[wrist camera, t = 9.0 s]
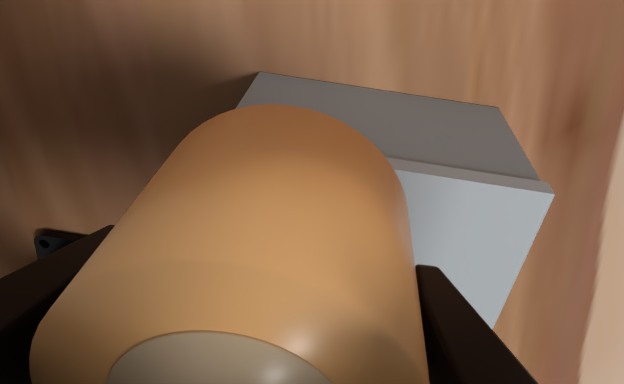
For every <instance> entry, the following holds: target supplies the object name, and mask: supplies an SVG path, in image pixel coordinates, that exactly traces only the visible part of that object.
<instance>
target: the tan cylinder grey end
mask: <svg viewBox="0 0 624 384" xmlns="http://www.w3.org/2000/svg"><path fill="white" fill-rule="evenodd" d="M29 368H30V377H31V382H32V384H430V380H429V372H428V364H427V356H426V349H425V341H424V333H423V325H422V317H421V309H420V301H419V293H418V285H417V277H416V269H415V261H414V253H413V245H412V237H411V229H410V222H409V214H408V207H407V202H406V196H405V193H404V191H403V188H402V185H401V182H400V180H399V178H398V176H397V174H396V172H395V170H394V169H393V167H392V166H391V164H390V163H389V162H388V160H387V159H386V157H385V156H384V155H383V154H382V153H381V152H380V150H379V149H378V148H377V147H376V146H375V145H374V144H373V143H372V142H371V141H369V140H368V139H367V138H366V137H364V136H363V135H362V134H361V133H359V132H358V131H357V130H355V129H353V128H352V127H350V126H349V125H347V124H345V123H344V122H342V121H340V120H337V119H335V118H333V117H331V116H329V115H326V114H324V113H320V112H317V111H314V110H311V109H307V108H302V107H296V106H291V105H277V104H265V105H252V106H247V107H242V108H237V109H233V110H230V111H228V112H225V113H222V114H219V115H217V116H215V117H213V118H211V119H209V120H207V121H206V122H204V123H202V124H201V125H199V126H198V127H197V128H195V129H194V130H193V131H191V132H190V133H189V134H188V135H187V136H186V137H185V138H184V139H183V140H182V141H181V142H180V143H179V145H178V146H177V147H176V148H175V150H174V151H173V152H172V153H171V155H170V156H169V157H168V159H167V160H166V161H165V162H164V164H163V165H162V166H161V167H160V169H159V170H158V171H157V173H156V174H155V175H154V176H153V178H152V179H151V180H150V181H149V183H148V184H147V185H146V187H145V188H144V189H143V190H142V192H141V193H140V194H139V196H138V197H137V198H136V199H135V201H134V202H133V203H132V204H131V206H130V207H129V208H128V210H127V211H126V212H125V213H124V215H123V216H122V217H121V218H120V220H119V221H118V222H117V224H116V225H115V226H114V227H113V229H112V230H111V231H110V233H109V234H108V235H107V236H106V238H105V239H104V240H103V241H102V243H101V244H100V245H99V247H98V248H97V249H96V250H95V252H94V253H93V254H92V255H91V257H90V258H89V259H88V261H87V262H86V263H85V264H84V266H83V267H82V268H81V270H80V271H79V272H78V273H77V275H76V276H75V277H74V278H73V280H72V281H71V282H70V284H69V285H68V286H67V287H66V289H65V290H64V291H63V292H62V294H61V295H60V296H59V298H58V299H57V300H56V301H55V303H54V304H53V305H52V306H51V308H50V309H49V311H48V312H47V313H46V315H45V316H44V318H43V319H42V320H41V322H40V323H39V325H38V327H37V330H36V332H35V335H34V337H33V339H32V344H31V349H30V355H29Z"/></svg>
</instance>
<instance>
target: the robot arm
mask: <svg viewBox="0 0 624 384" xmlns="http://www.w3.org/2000/svg"><path fill="white" fill-rule="evenodd" d="M114 226H115V225H108V226H106V227H104V228H102V229H100V230H98V231H96V232H94V233H92V234H90V235H88V236H86V237H84V236H78V235H71V234H65V233H59V232H53V231H41V232H40V233H39V234H38V235H37V236H36V237H35V239H34V244H35V248H36V252H37V256H38V260H37V261H35V262H33V263H31V264H29V265H27V266H25V267H23V268H21V269H19V270H17V271H15V272H12V273H10V274H8V275H6V276H4V277H2V278H0V384H32V382H31V377H30V368H29V355H30V349H31V344H32V339H33V337H34V335H35V332H36V330H37V327H38V325H39V323H40V322H41V320H42V319H43V318H44V316H45V315H46V313H47V312H48V311H49V309H50V308H51V306H52V305H53V304H54V303H55V301H56V300H57V299H58V298H59V296H60V295H61V294H62V292H63V291H64V290H65V289H66V287H67V286H68V285H69V284H70V282H71V281H72V280H73V278H74V277H75V276H76V275H77V273H78V272H79V271H80V270H81V268H82V267H83V266H84V264H85V263H86V262H87V261H88V259H89V258H90V257H91V255H92V254H93V253H94V252H95V250H96V249H97V248H98V247H99V245H100V244H101V243H102V241H103V240H104V239H105V238H106V236H107V235H108V234H109V233H110V231H111V230H112V229H113V227H114ZM45 240H46V241H45ZM415 269H416V277H417V285H418V293H419V301H420V309H421V317H422V325H423V333H424V341H425V349H426V356H427V364H428V372H429V380H430V384H538V383H537V381H536V380H535V379H534V378H533V377H532V376H531V374H530V373H529V372H528V371H527V370H526V369H525V367H524V366H523V365H522V364H521V363H520V362H519V360H518V359H517V358H516V357H515V356H514V355H513V353H512V352H511V351H510V350H509V349H508V348H507V346H506V345H505V344H504V343H503V342H502V341H501V339H500V338H499V337H498V336H497V335H496V334H495V332H494V331H493V330H492V329H491V328H490V327H489V325H488V324H487V323H486V322H485V321H484V320H483V318H482V317H481V316H480V315H479V314H478V313H477V311H476V310H475V309H474V308H473V307H472V306H471V304H470V303H469V302H468V301H467V300H466V299H465V297H464V296H463V295H462V294H461V293H460V292H459V290H458V289H457V288H456V287H455V286H454V285H453V283H452V282H451V281H450V280H449V279H448V278H447V276H446V275H445V274H444V273H443V272H442V271H441V269H440V268H438V267H436V266H430V265H422V264H417V265H416V266H415Z"/></svg>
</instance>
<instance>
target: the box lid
mask: <svg viewBox="0 0 624 384" xmlns="http://www.w3.org/2000/svg"><path fill="white" fill-rule="evenodd" d="M386 159H387V160H388V162H389V163H390V164H391V166H392V167H393V169H394V170H395V172H396V174H397V176H398V178H399V180H400V182H401V185H402V188H403V191H404V193H405V196H406V202H407V207H408V214H409V222H410V229H411V237H412V245H413V253H414V261H415V266H416V265H417V264H422V265H430V266H436V267H438V268H440V269H441V271H442V272H443V273H444V274H445V275H446V276H447V278H448V279H449V280H450V281H451V282H452V283H453V285H454V286H455V287H456V288H457V289H458V290H459V292H460V293H461V294H462V295H463V296H464V297H465V299H466V300H467V301H468V302H469V303H470V304H471V306H472V307H473V308H474V309H475V310H476V311H477V313H478V314H479V315H480V316H481V317H482V318H483V320H484V321H485V322H486V323H487V324H488V325H489V327H490V328H491V329H492V330H493V327H494V325H495V323H496V321H497V319H498V317H499V314H500V312H501V310H502V308H503V306H504V304H505V301H506V299H507V297H508V295H509V293H510V291H511V288H512V286H513V284H514V282H515V280H516V278H517V275H518V273H519V271H520V269H521V267H522V265H523V262H524V260H525V258H526V256H527V254H528V252H529V249H530V247H531V245H532V243H533V241H534V239H535V236H536V234H537V232H538V230H539V228H540V226H541V223H542V221H543V219H544V217H545V215H546V213H547V210H548V208H549V206H550V204H551V202H552V200H553V197H554V195H555V194H554V192H553V190H552V188H551V187H550V185H549V183H548V182H542V181H535V180H529V179H522V178H516V177H510V176H503V175H497V174H490V173H484V172H477V171H471V170H464V169H458V168H451V167H445V166H438V165H432V164H425V163H419V162H413V161H406V160H400V159H393V158H387V157H386Z"/></svg>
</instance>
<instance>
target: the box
mask: <svg viewBox="0 0 624 384" xmlns="http://www.w3.org/2000/svg"><path fill="white" fill-rule="evenodd" d="M265 104H277V105H291V106H296V107H302V108H307V109H311V110H314V111H317V112H320V113H324V114H326V115H329V116H331V117H333V118H335V119H337V120H340V121H342V122H344V123H345V124H347V125H349V126H350V127H352V128H353V129H355V130H357V131H358V132H359V133H361V134H362V135H363V136H364V137H366V138H367V139H368V140H369V141H371V142H372V143H373V144H374V145H375V146H376V147H377V148H378V149H379V150H380V152H381V153H382V154H383V155H384V156H385V157H387V158H393V159H400V160H406V161H413V162H419V163H425V164H432V165H438V166H445V167H451V168H458V169H464V170H471V171H477V172H484V173H490V174H497V175H503V176H510V177H516V178H522V179H529V180H535V181H541V180H540V179H539V177H538V175H537V173H536V172H535V170H534V168H533V167H532V165H531V163H530V161H529V160H528V158H527V156H526V154H525V153H524V151H523V149H522V147H521V146H520V144H519V142H518V141H517V139H516V137H515V135H514V134H513V132H512V130H511V128H510V127H509V125H508V123H507V122H506V120H505V118H504V116H503V115H502V113H501V111H500V109H499V108H497V107H491V106H484V105H477V104H471V103H464V102H457V101H451V100H444V99H437V98H431V97H424V96H417V95H411V94H404V93H397V92H391V91H384V90H377V89H371V88H364V87H357V86H351V85H344V84H337V83H331V82H324V81H317V80H311V79H304V78H297V77H291V76H284V75H277V74H271V73H264V72H259V73H258V75H257V76H256V78H255V79H254V81H253V83H252V84H251V86H250V87H249V89H248V90H247V92H246V93H245V95H244V96H243V98H242V99H241V101H240V102H239V104H238V105H237V107H236V109H237V108H242V107H247V106H252V105H265Z"/></svg>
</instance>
